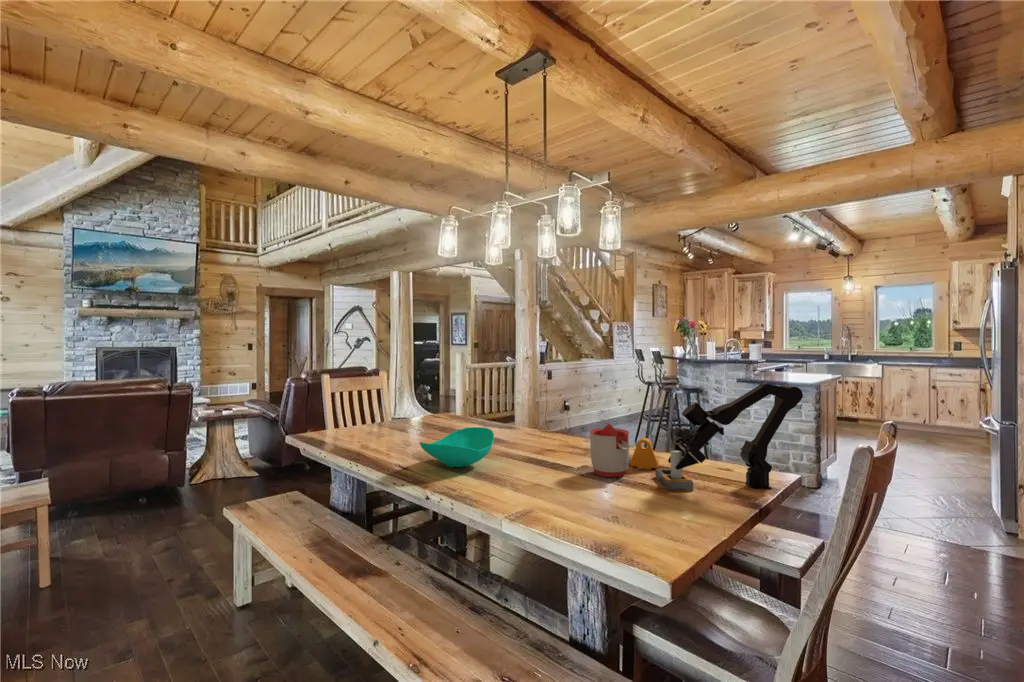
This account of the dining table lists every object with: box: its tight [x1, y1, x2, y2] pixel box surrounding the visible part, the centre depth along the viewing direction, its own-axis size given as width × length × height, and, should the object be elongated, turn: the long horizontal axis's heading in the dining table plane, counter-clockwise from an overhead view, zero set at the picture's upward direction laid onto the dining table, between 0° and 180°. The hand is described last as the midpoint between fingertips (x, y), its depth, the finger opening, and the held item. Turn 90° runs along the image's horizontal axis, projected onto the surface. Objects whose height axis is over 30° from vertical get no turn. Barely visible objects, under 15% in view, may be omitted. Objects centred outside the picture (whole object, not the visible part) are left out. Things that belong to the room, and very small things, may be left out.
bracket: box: [630, 437, 660, 470], centre depth 198 cm, size 11×7×12 cm, turn 68°
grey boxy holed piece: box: [654, 468, 694, 491], centre depth 175 cm, size 9×17×3 cm, turn 177°
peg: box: [670, 450, 683, 479], centre depth 171 cm, size 4×4×12 cm
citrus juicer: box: [588, 423, 630, 478], centre depth 187 cm, size 16×17×20 cm
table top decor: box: [419, 426, 495, 468], centre depth 203 cm, size 40×28×13 cm
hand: (672, 465), depth 171 cm, fingers open, 9 cm apart
